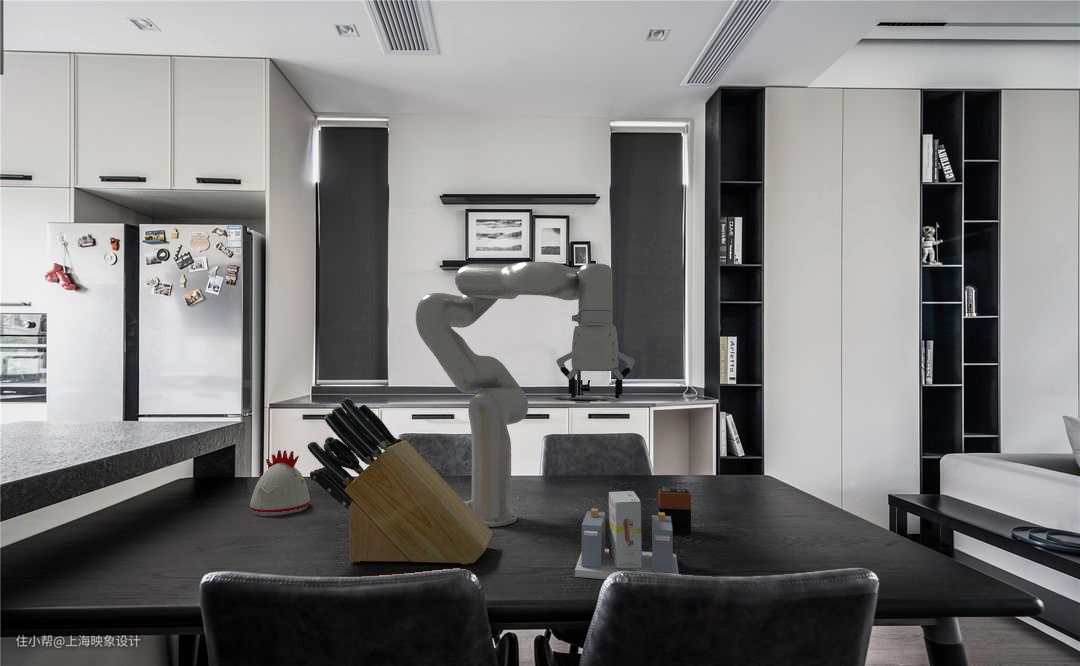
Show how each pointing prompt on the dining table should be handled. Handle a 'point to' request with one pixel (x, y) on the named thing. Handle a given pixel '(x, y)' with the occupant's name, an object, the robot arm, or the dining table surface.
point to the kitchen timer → (280, 486)
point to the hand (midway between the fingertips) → (595, 397)
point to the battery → (676, 508)
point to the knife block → (394, 495)
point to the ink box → (625, 529)
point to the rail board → (598, 559)
